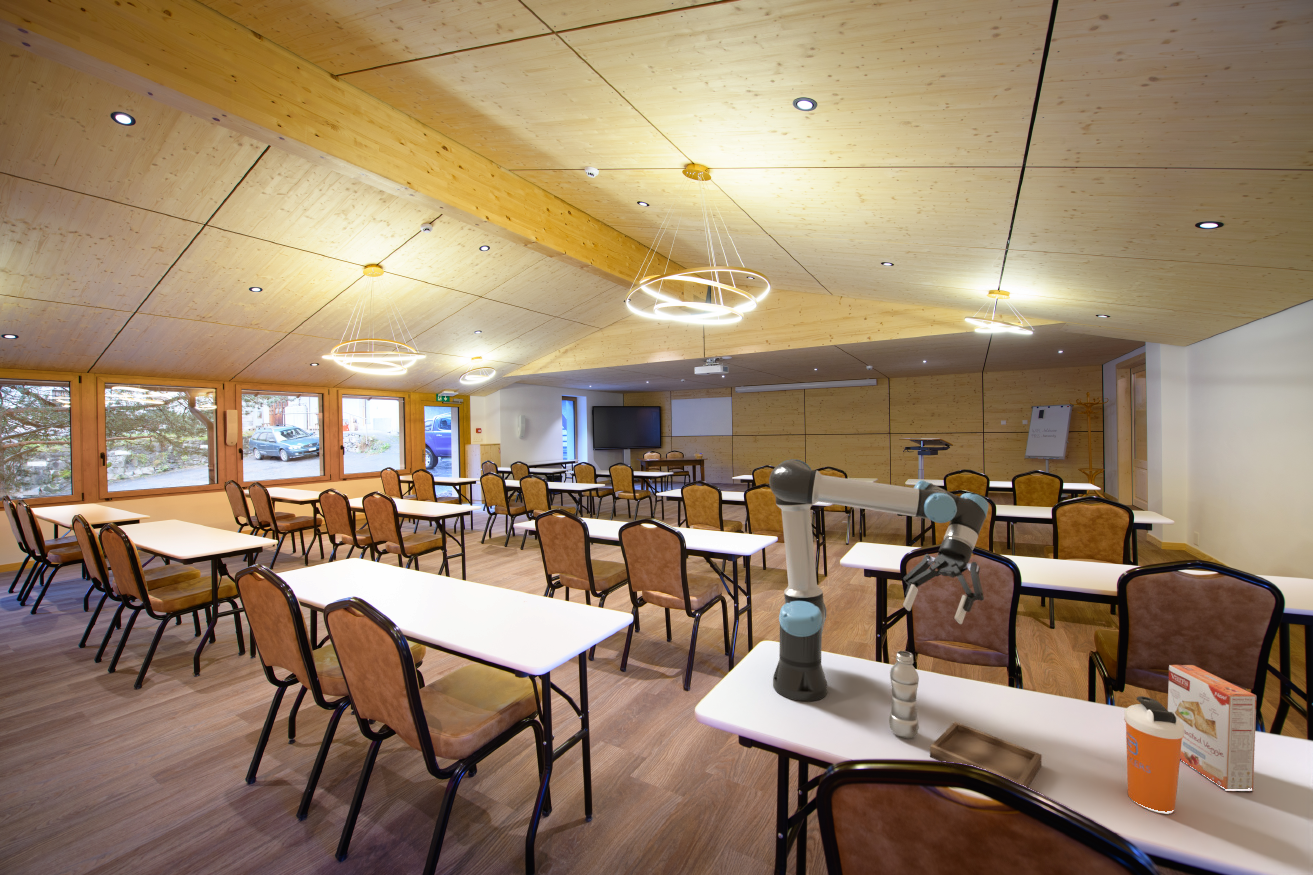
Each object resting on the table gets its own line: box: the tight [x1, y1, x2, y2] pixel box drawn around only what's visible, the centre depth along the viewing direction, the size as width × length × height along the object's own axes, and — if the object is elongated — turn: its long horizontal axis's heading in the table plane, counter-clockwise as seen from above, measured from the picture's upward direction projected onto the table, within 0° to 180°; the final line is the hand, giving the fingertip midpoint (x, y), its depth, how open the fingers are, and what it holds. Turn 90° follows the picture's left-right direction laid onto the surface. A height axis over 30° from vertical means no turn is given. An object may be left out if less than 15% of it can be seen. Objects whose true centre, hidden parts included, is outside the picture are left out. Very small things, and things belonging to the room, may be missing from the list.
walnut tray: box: [929, 721, 1042, 788], centre depth 124 cm, size 18×15×2 cm
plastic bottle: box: [888, 650, 920, 739], centre depth 134 cm, size 6×7×20 cm
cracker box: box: [1167, 664, 1257, 790], centre depth 120 cm, size 14×6×21 cm, turn 178°
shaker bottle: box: [1123, 695, 1184, 812], centre depth 110 cm, size 9×9×20 cm
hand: (931, 614), depth 141 cm, fingers open, 13 cm apart
